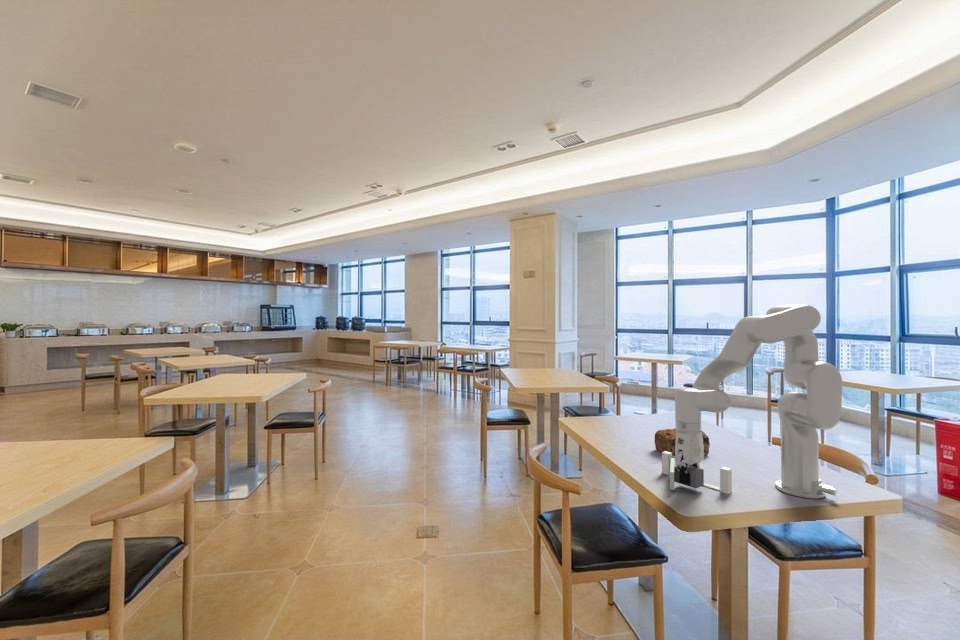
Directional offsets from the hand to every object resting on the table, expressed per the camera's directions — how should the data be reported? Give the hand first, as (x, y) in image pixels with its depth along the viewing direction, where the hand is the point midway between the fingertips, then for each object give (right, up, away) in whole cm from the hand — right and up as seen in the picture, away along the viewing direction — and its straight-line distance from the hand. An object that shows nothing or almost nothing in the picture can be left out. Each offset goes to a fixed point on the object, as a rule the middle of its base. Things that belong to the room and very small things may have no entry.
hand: (689, 481), depth 132 cm
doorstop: (0, -1, 0) cm, 1 cm away
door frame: (+5, -3, +5) cm, 8 cm away
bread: (+16, -3, +37) cm, 40 cm away
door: (-3, -2, +5) cm, 6 cm away
